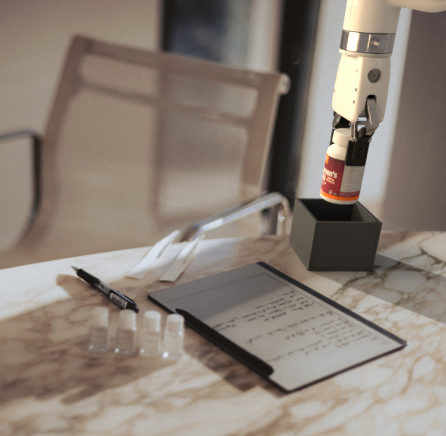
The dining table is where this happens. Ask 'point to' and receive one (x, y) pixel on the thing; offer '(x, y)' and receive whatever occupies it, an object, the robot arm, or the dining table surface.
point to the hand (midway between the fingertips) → (346, 158)
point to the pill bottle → (340, 172)
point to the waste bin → (334, 235)
